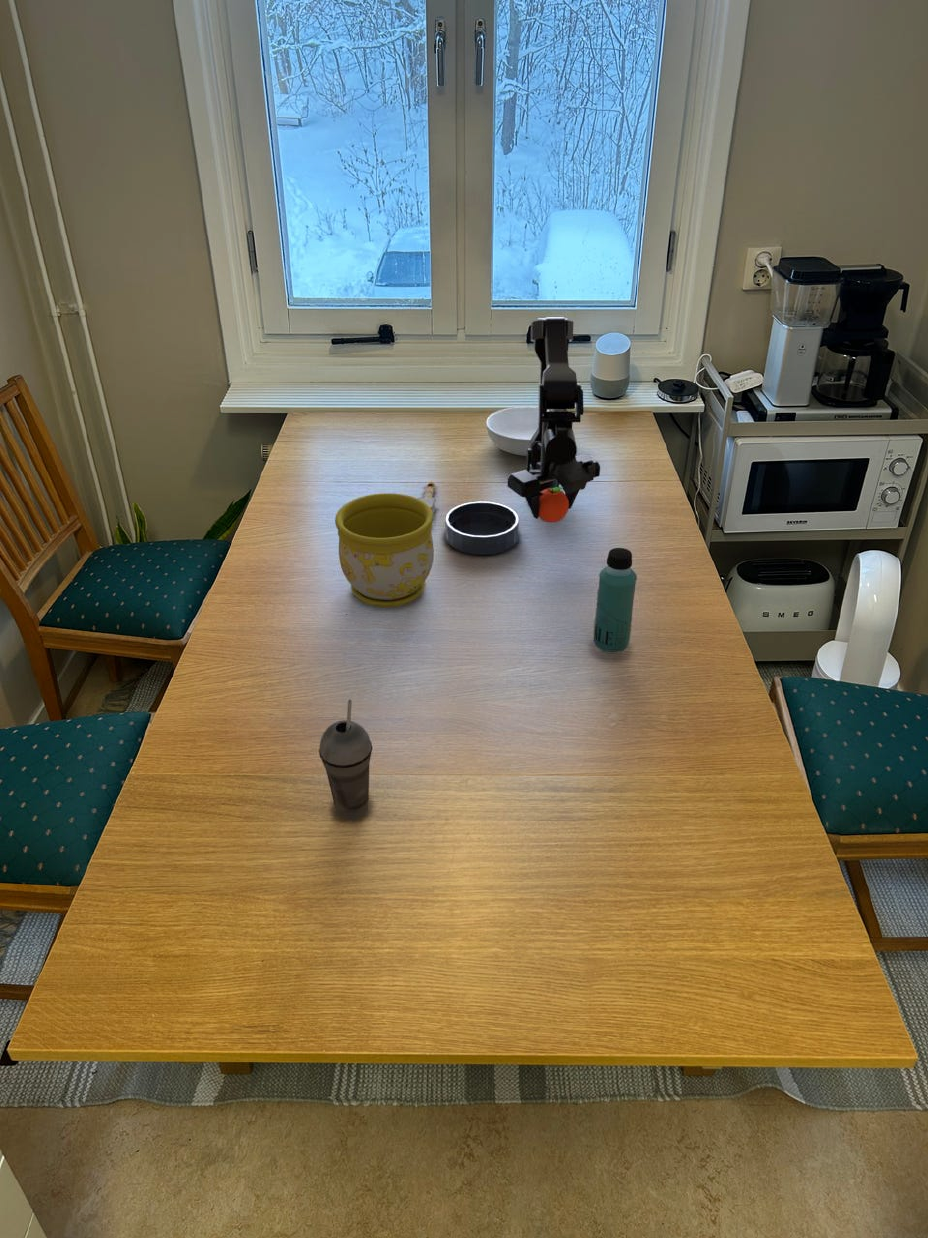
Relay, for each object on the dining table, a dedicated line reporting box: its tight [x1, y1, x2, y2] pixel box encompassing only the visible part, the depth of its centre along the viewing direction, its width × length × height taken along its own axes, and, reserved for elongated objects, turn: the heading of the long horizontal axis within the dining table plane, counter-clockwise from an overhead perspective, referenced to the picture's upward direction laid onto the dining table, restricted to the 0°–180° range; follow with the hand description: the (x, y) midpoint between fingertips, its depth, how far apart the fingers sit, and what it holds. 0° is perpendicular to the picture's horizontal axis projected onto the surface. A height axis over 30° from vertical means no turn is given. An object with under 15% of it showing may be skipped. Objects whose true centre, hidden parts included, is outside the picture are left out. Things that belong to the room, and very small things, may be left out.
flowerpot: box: [334, 492, 435, 609], centre depth 173 cm, size 18×18×16 cm
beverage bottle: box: [592, 547, 638, 654], centre depth 156 cm, size 6×7×20 cm
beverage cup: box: [318, 699, 373, 821], centre depth 126 cm, size 7×7×20 cm
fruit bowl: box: [444, 500, 520, 556], centre depth 193 cm, size 15×15×4 cm
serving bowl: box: [485, 406, 539, 457], centre depth 229 cm, size 21×21×7 cm
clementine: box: [538, 486, 569, 524], centre depth 185 cm, size 8×7×7 cm
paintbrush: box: [417, 481, 436, 514], centre depth 204 cm, size 4×3×20 cm
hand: (552, 512), depth 186 cm, fingers closed on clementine, 8 cm apart
